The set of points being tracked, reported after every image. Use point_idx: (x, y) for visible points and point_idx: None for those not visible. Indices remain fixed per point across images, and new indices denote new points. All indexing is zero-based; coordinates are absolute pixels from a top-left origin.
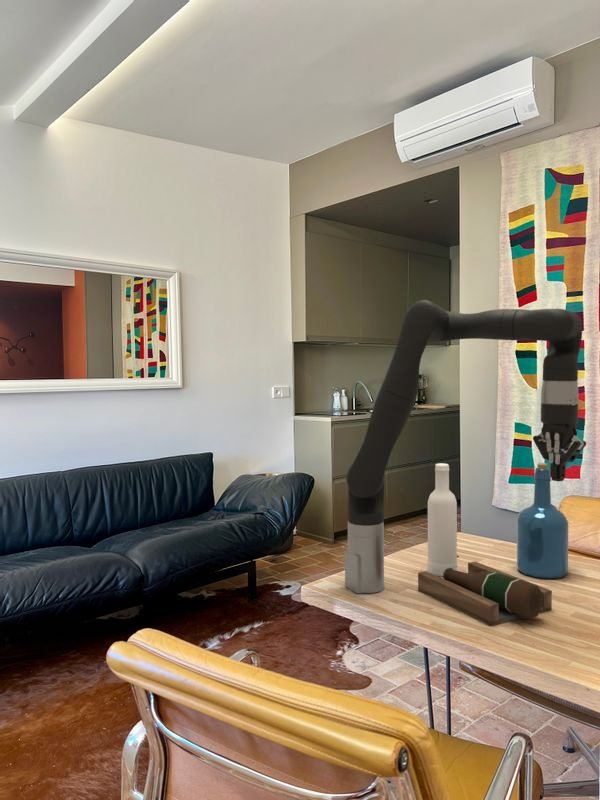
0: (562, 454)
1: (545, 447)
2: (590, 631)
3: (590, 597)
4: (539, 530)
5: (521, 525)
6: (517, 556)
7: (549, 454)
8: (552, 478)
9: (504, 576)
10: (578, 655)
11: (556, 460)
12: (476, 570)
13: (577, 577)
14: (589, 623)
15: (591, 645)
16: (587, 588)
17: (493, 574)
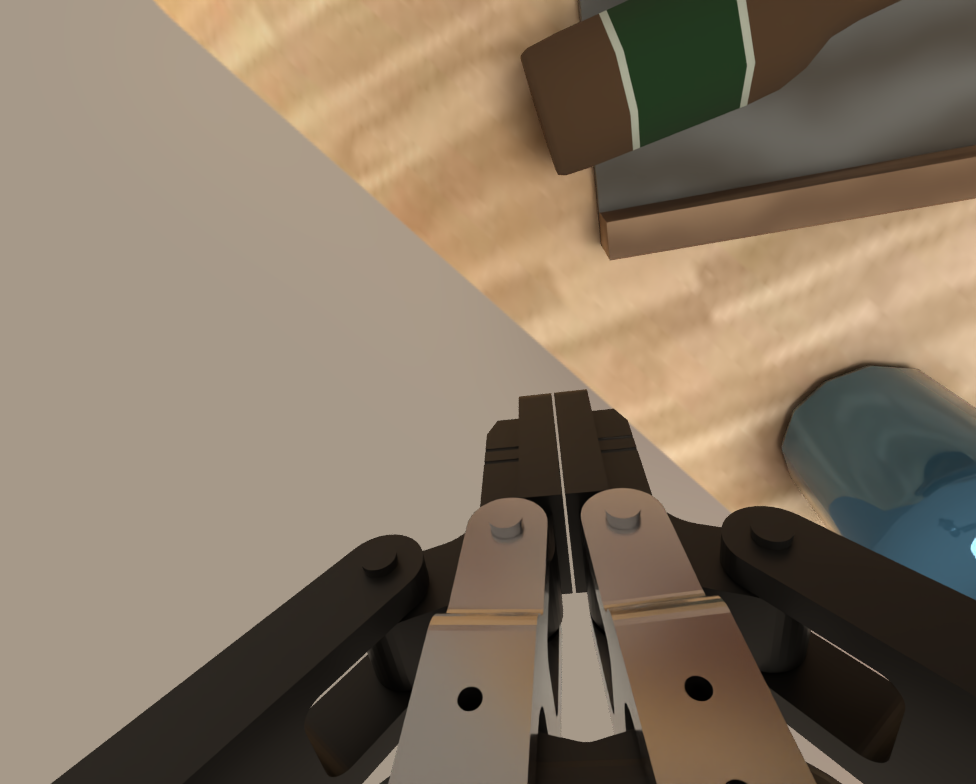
0: (553, 697)
1: (905, 723)
2: (435, 241)
3: (627, 411)
4: (916, 476)
5: None
6: (947, 389)
7: (683, 583)
8: (575, 394)
9: (690, 69)
10: (306, 86)
11: (524, 535)
12: (960, 155)
13: (761, 483)
14: (481, 279)
15: (356, 175)
16: (682, 449)
17: (735, 33)
